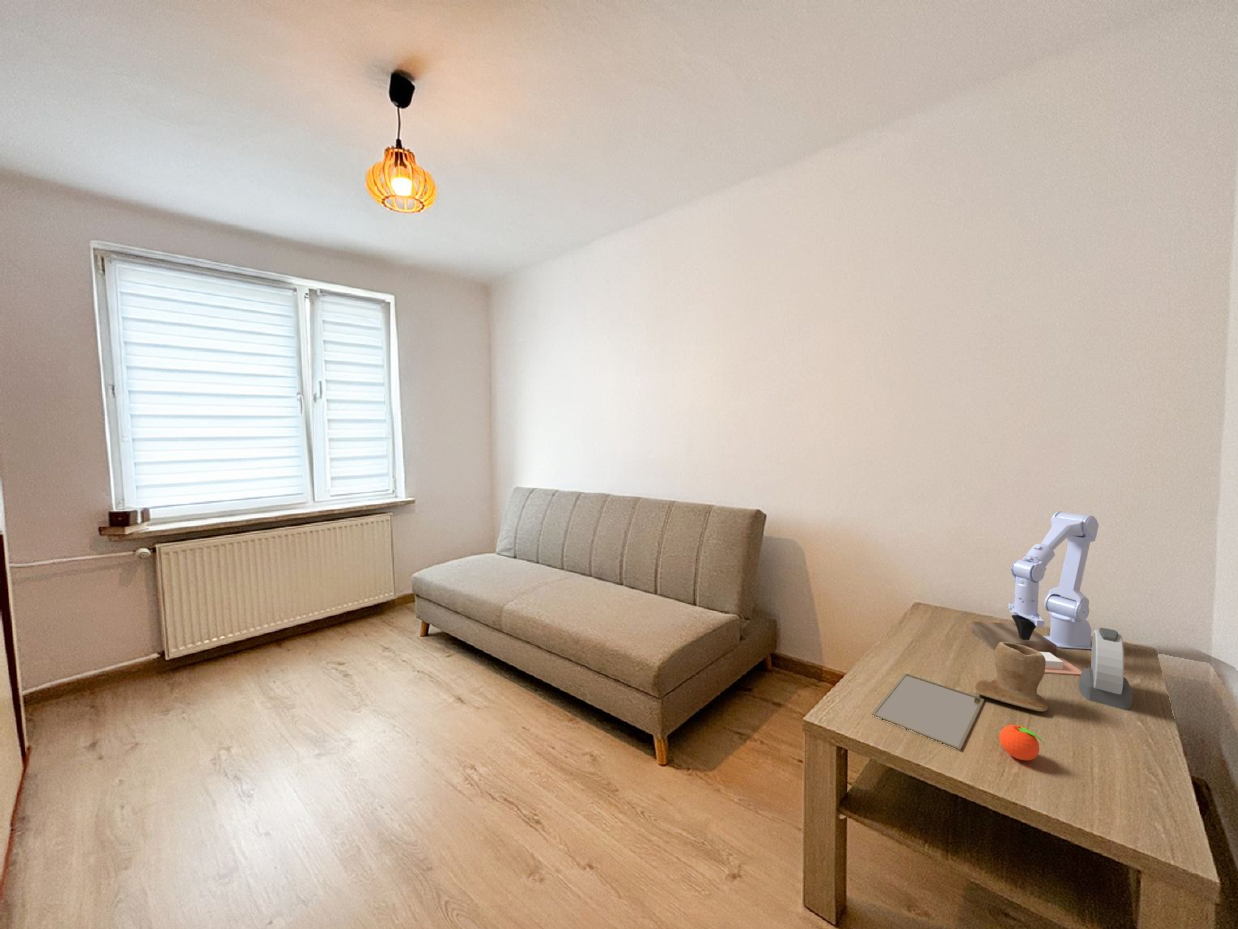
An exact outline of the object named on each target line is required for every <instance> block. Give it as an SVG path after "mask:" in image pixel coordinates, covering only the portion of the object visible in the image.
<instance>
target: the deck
mask: <svg viewBox="0 0 1238 929" xmlns="http://www.w3.org/2000/svg"><path fill="white" fill-rule="evenodd" d="M971 625H972V627H971V633H973V634H974V635H975V636H976V637H977V638H979V639H980V640H981V641H982V642H983V643H984V644H986V646H988V647H989V648H991V649H992V650H993V651H994V652H995V649H996V647H997V645H998V643H1000V642H1009V643H1015V644H1019V645H1023V646H1026V647H1029V648H1032V649H1034V650H1037V651H1038V652H1050V653H1051V654H1053V655H1054V656H1055V657H1057V645H1056V644H1054V643H1052V642H1051V641H1049V640H1048V639H1046V638H1045V637H1043V636H1044V635H1042V634H1040V633H1039V632H1038V631H1036V630H1034V631H1033V633H1032V635H1031V637H1030V640H1022V639H1021V638H1020V637H1019V634H1018V630H1017V626H1016V624H1015V622H1014V623H1013V622H1012V623H1011V622H1009V623H1007V622H995V621H993V622H992V621H991V622H989V621H972V624H971Z"/></svg>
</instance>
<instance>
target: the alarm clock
mask: <svg viewBox="0 0 1238 929" xmlns="http://www.w3.org/2000/svg"><path fill="white" fill-rule="evenodd" d="M1091 647H1092V649H1091V653H1090V654H1091V656H1090V657H1091V658H1090V659H1091V660H1090V662H1091V663H1090V664H1091V665H1090V666H1091V667H1090V668H1089V667H1088V668H1087V667H1086V668H1083V669H1082V670H1081V671H1082V673H1081V675H1079V676H1080V677H1079V681H1078V690H1079V692H1080V694H1081V695H1082V696H1083V697H1084V698H1085V699H1086V700H1087V701H1090V702H1093V703H1097V704H1101V705H1105V706H1109V707H1113V708H1116V709H1120V710H1124V711H1128V710H1130V709H1131V708H1132V706H1133V699H1134V694H1133V690H1132V687H1131V685H1130V683H1129V680H1128V679H1127V678H1126V677H1125V675H1124V674H1125V669H1124V668H1125V650H1124V649H1125V648H1124V640H1123V636H1122V635H1121V634H1120V633H1119V632H1118V631H1117V630H1115V629H1110V628H1105V627H1100V628H1099V629H1094V630H1093V633H1092V638H1091Z"/></svg>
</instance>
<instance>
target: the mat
mask: <svg viewBox="0 0 1238 929" xmlns="http://www.w3.org/2000/svg"><path fill="white" fill-rule="evenodd" d="M1057 658H1058V659H1060V660H1061V661H1063V670H1061V669H1046V668H1045V673H1044V674H1050V675H1051V674H1053V675H1054V674H1055V675H1069V676H1081V673H1082V671H1083V670H1081V669H1079V668H1078V667H1076V666H1074V664H1072V663H1070V662H1069V661H1067V660H1066V659H1065V658H1063V657H1057Z"/></svg>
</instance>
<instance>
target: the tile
mask: <svg viewBox="0 0 1238 929" xmlns="http://www.w3.org/2000/svg"><path fill="white" fill-rule="evenodd" d="M1040 653H1041V654H1042V655H1043V656H1044V657H1045V660H1046V665H1045V668H1046V669H1061V670H1063V661H1061V660H1060V659H1058V658H1059V657H1057V656H1056V657H1055V656H1054V655H1053V654H1051V653H1050V652H1040Z"/></svg>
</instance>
